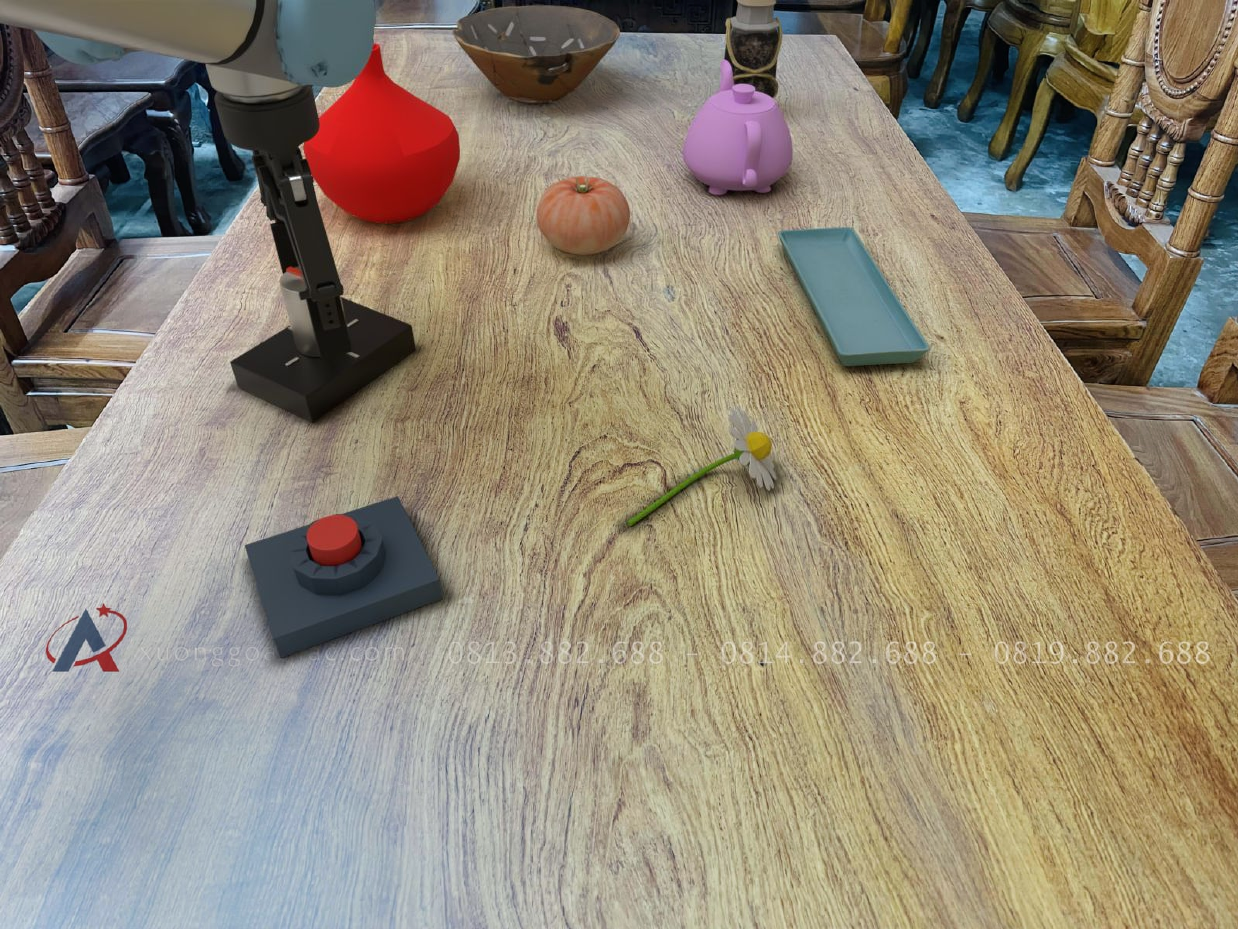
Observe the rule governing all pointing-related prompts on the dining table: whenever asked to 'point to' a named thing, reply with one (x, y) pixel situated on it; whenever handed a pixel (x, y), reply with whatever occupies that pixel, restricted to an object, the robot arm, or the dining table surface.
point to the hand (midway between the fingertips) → (317, 317)
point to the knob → (299, 312)
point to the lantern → (754, 45)
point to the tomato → (583, 215)
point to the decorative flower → (746, 449)
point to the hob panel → (324, 364)
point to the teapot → (738, 139)
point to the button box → (342, 579)
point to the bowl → (536, 48)
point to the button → (334, 540)
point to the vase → (383, 150)
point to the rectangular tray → (852, 297)
